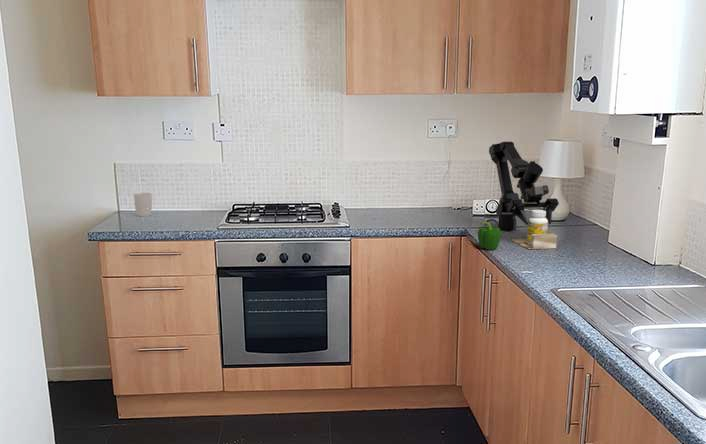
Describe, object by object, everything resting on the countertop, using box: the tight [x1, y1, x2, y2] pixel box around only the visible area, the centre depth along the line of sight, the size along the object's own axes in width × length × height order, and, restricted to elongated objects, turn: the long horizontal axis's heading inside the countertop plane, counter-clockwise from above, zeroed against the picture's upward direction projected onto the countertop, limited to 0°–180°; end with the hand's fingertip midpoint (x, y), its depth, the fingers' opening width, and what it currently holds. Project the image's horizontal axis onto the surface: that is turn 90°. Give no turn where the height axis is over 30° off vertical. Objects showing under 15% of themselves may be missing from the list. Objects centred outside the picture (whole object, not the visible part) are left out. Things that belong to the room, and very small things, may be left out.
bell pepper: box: [477, 221, 502, 251], centre depth 227 cm, size 8×8×10 cm
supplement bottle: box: [526, 209, 549, 245], centre depth 232 cm, size 7×7×13 cm
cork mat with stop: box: [511, 233, 558, 250], centre depth 234 cm, size 16×12×5 cm
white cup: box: [133, 192, 153, 217], centre depth 286 cm, size 8×8×10 cm
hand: (538, 223), depth 231 cm, fingers open, 9 cm apart
